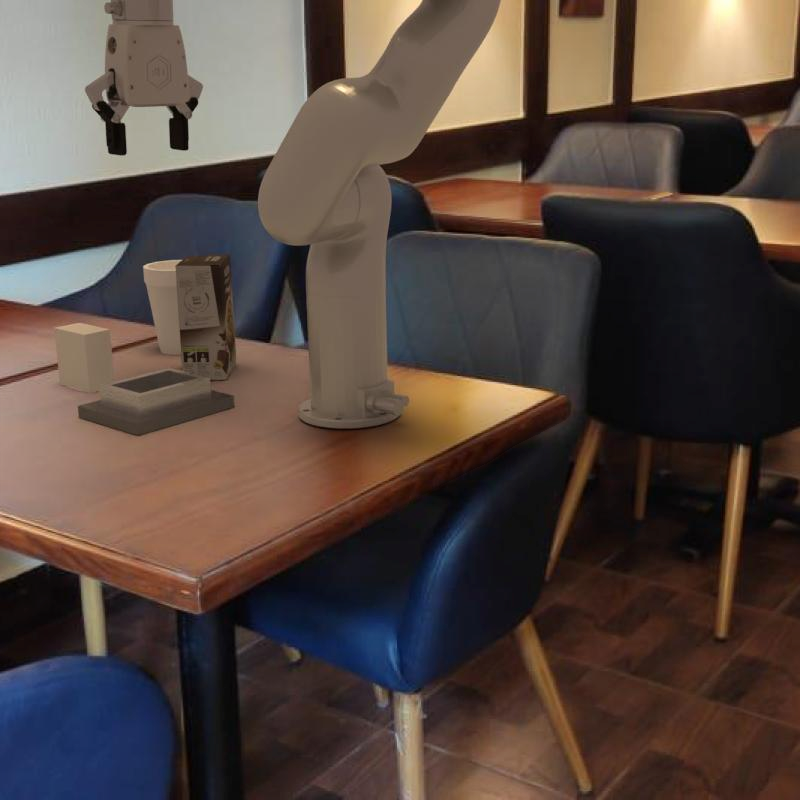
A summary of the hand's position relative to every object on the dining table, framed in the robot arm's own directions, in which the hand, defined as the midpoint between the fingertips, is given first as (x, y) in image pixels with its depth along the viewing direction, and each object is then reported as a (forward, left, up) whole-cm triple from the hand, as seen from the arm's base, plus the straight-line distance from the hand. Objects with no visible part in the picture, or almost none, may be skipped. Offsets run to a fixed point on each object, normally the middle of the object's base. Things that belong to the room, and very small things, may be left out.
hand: (149, 152), depth 155 cm
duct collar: (-10, +9, -31) cm, 34 cm away
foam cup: (+14, -14, -31) cm, 37 cm away
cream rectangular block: (+8, +7, -31) cm, 33 cm away
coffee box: (0, -8, -31) cm, 32 cm away
